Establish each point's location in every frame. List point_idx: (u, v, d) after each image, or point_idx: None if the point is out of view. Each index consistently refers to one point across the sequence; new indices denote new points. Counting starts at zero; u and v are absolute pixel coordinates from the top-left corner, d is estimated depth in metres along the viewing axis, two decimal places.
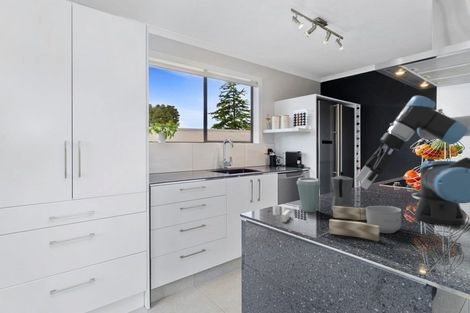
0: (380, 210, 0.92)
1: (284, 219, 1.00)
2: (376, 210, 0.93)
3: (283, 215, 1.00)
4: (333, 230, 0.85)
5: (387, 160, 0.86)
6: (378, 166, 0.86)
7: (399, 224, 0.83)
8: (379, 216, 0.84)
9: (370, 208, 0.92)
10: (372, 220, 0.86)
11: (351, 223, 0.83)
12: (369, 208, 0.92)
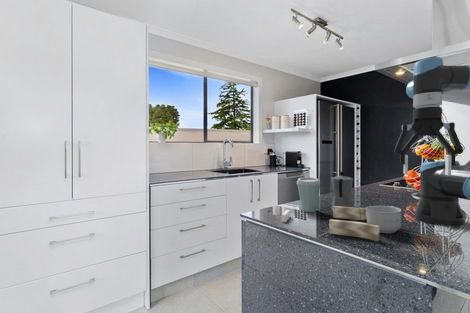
0: (380, 210, 0.92)
1: (284, 219, 1.00)
2: (376, 210, 0.93)
3: (283, 215, 1.00)
4: (333, 230, 0.85)
5: None
6: None
7: (399, 224, 0.83)
8: (379, 216, 0.84)
9: (370, 208, 0.92)
10: (372, 220, 0.86)
11: (351, 223, 0.83)
12: (369, 208, 0.92)
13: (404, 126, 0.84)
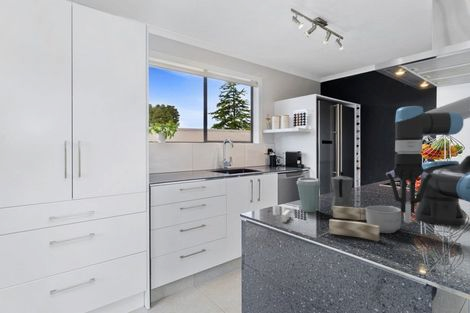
0: (380, 210, 0.92)
1: (284, 219, 1.00)
2: (376, 210, 0.93)
3: (283, 215, 1.00)
4: (333, 230, 0.85)
5: None
6: None
7: (399, 224, 0.83)
8: (379, 216, 0.84)
9: (370, 208, 0.92)
10: (372, 220, 0.86)
11: (351, 223, 0.83)
12: (369, 208, 0.92)
13: (388, 175, 0.86)
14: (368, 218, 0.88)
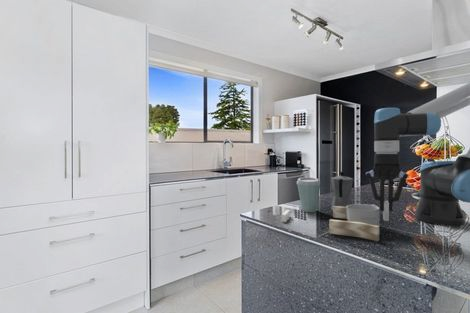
0: (361, 208, 0.95)
1: (284, 219, 1.00)
2: (358, 208, 0.95)
3: (283, 215, 1.00)
4: (333, 230, 0.85)
5: None
6: None
7: (377, 222, 0.86)
8: (357, 214, 0.87)
9: (351, 206, 0.95)
10: (351, 218, 0.89)
11: (351, 223, 0.83)
12: (350, 206, 0.95)
13: (367, 174, 0.89)
14: (348, 216, 0.91)
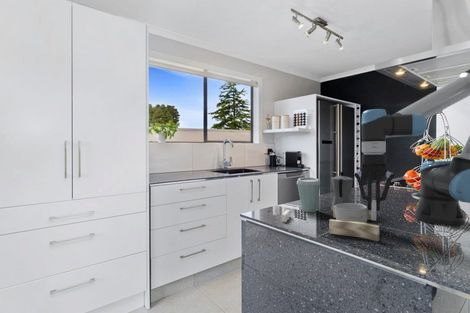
0: (350, 207, 0.97)
1: (284, 219, 1.00)
2: (346, 207, 0.97)
3: (283, 215, 1.00)
4: (333, 230, 0.85)
5: None
6: None
7: (363, 221, 0.88)
8: (344, 213, 0.89)
9: (340, 205, 0.97)
10: (339, 216, 0.91)
11: (351, 223, 0.83)
12: (339, 205, 0.97)
13: (355, 175, 0.91)
14: (336, 215, 0.93)
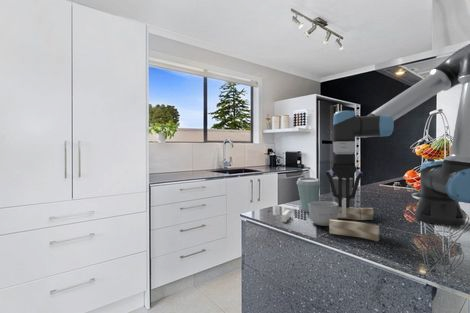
0: (324, 205, 1.01)
1: (284, 219, 1.00)
2: (321, 205, 1.01)
3: (283, 215, 1.00)
4: (333, 230, 0.85)
5: None
6: (355, 194, 0.92)
7: (333, 218, 0.92)
8: (315, 210, 0.93)
9: (315, 203, 1.01)
10: (311, 214, 0.95)
11: (351, 223, 0.83)
12: (314, 203, 1.01)
13: (327, 173, 0.95)
14: (309, 212, 0.97)
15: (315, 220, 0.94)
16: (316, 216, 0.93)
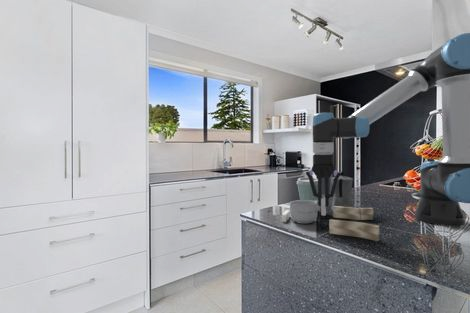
0: (306, 204, 1.04)
1: (284, 219, 1.00)
2: (303, 204, 1.05)
3: (283, 215, 1.00)
4: (333, 230, 0.85)
5: (336, 183, 0.95)
6: None
7: (312, 216, 0.95)
8: (295, 208, 0.96)
9: (297, 202, 1.05)
10: (291, 212, 0.99)
11: (351, 223, 0.83)
12: (296, 202, 1.04)
13: (307, 173, 0.98)
14: (290, 210, 1.00)
15: (295, 218, 0.97)
16: (296, 214, 0.96)
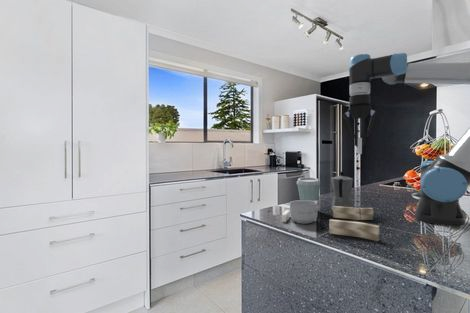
0: (306, 204, 1.04)
1: (284, 219, 1.00)
2: (302, 204, 1.05)
3: (283, 215, 1.00)
4: (333, 230, 0.85)
5: None
6: (370, 132, 0.99)
7: (312, 216, 0.95)
8: (295, 208, 0.96)
9: (297, 202, 1.05)
10: (291, 212, 0.99)
11: (351, 223, 0.83)
12: (296, 202, 1.04)
13: (344, 115, 1.02)
14: (290, 210, 1.00)
15: (295, 218, 0.97)
16: (296, 214, 0.96)
